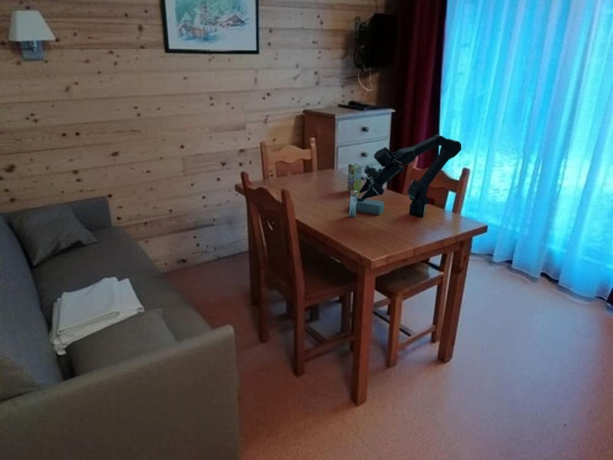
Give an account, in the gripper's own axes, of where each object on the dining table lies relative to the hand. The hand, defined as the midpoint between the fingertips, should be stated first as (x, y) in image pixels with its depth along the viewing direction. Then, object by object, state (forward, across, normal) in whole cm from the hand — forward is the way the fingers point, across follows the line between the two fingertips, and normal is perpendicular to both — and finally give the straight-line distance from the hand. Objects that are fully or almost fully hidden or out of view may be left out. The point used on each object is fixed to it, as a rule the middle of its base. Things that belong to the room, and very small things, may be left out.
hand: (360, 195), depth 206 cm
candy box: (+7, -36, +8) cm, 37 cm away
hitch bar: (+4, -9, +10) cm, 14 cm away
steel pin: (+9, 0, +5) cm, 10 cm away
